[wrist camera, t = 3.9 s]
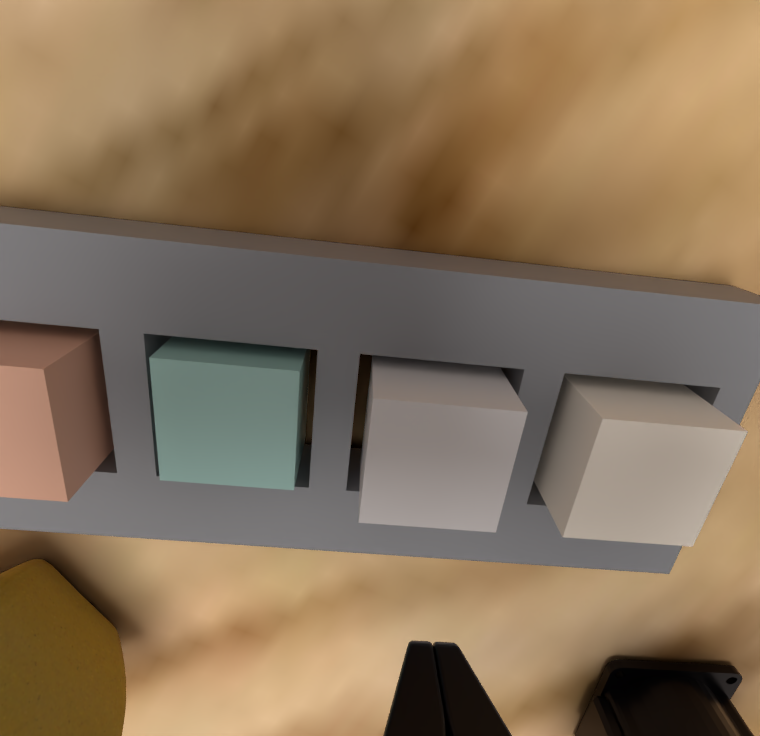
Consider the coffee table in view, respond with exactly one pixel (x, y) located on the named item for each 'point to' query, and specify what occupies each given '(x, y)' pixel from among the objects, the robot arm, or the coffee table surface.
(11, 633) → the flower pot
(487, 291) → the keyguard frame
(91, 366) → the key
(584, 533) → the key
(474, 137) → the coffee table surface
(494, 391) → the key
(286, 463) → the key
